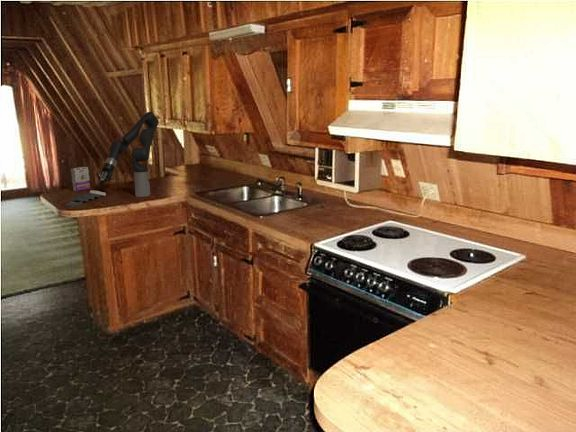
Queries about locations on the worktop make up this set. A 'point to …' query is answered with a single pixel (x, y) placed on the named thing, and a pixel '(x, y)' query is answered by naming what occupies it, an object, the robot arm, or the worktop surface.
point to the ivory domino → (98, 192)
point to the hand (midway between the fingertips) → (100, 186)
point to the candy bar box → (80, 179)
